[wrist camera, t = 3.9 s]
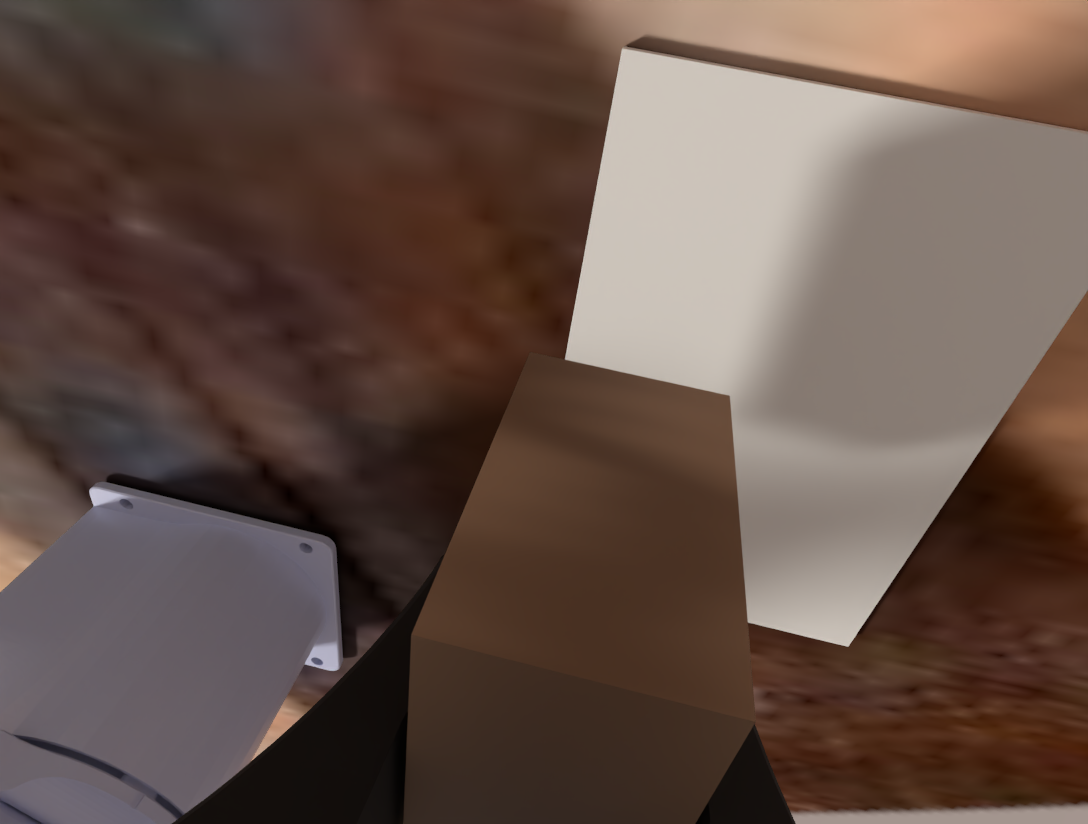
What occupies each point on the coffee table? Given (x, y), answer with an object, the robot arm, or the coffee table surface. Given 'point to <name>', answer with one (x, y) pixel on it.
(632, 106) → the mat
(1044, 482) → the coffee table surface
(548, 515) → the brown block
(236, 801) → the robot arm
